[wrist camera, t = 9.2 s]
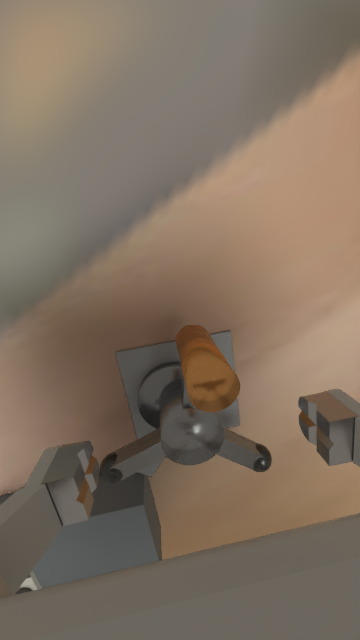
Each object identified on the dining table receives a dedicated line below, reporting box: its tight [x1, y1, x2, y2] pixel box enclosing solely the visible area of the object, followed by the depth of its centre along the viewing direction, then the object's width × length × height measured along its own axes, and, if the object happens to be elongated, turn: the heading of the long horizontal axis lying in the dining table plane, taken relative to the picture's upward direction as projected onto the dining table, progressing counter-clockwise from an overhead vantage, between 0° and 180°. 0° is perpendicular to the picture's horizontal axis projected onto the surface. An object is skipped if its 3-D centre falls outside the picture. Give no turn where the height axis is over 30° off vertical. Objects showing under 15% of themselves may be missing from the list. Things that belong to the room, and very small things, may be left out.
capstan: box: [100, 325, 272, 484], centre depth 17 cm, size 13×12×10 cm
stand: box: [0, 331, 240, 595], centre depth 21 cm, size 22×24×6 cm
